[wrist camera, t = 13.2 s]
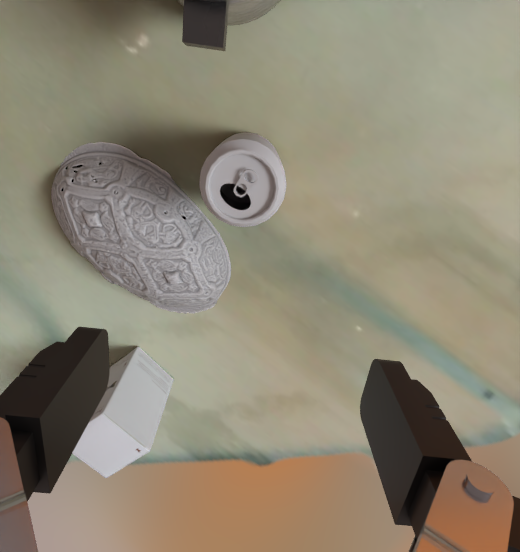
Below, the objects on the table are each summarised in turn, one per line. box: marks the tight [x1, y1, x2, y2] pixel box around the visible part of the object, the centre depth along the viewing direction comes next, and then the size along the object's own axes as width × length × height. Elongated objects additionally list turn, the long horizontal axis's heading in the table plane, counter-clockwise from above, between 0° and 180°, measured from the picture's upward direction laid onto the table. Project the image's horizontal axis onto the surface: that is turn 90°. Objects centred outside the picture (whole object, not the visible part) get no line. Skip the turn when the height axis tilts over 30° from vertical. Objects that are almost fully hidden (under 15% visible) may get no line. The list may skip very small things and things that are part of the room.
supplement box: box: [72, 347, 174, 478], centre depth 48 cm, size 7×7×13 cm
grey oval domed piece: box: [51, 142, 231, 314], centre depth 44 cm, size 16×25×7 cm, turn 47°
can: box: [199, 132, 286, 227], centre depth 37 cm, size 8×8×12 cm
